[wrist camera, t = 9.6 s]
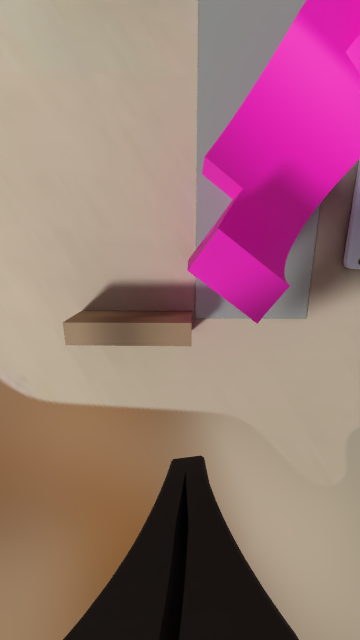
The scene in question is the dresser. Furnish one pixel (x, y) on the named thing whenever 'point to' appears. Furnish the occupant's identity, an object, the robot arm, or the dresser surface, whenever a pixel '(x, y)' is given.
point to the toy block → (283, 155)
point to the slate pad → (216, 113)
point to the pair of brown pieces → (129, 328)
